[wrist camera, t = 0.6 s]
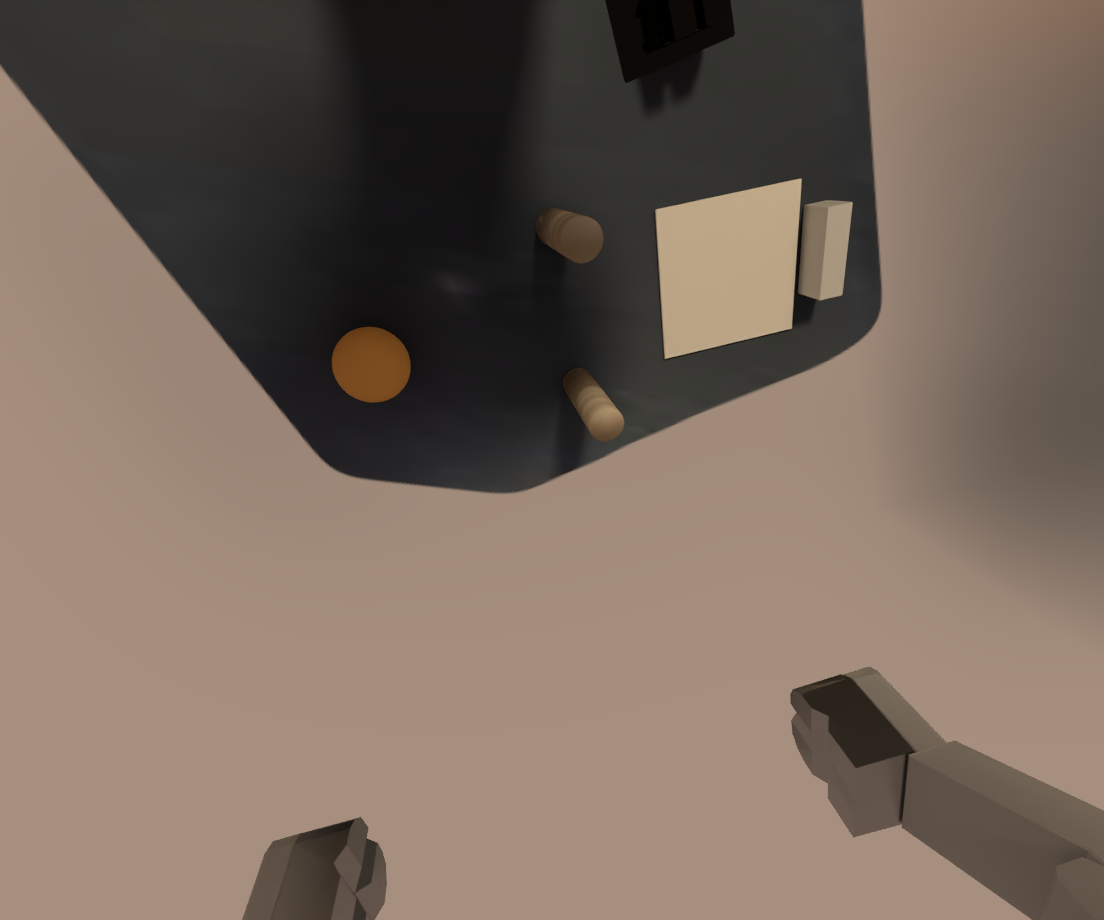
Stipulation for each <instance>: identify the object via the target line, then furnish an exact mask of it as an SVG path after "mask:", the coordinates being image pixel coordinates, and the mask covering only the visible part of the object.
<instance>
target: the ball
mask: <svg viewBox="0 0 1104 920" xmlns="http://www.w3.org/2000/svg"><path fill="white" fill-rule="evenodd" d="M332 369H333V373H334V376H335V378H336V380H337V382H338V384H339V385H340V386H341V388H342V389H343V390H344V391H345V392H346V393H348V394H349V395H350V396H352V397H354V398H356V399H358V400H361V401H365V402H382V401H386V400H389V399H391V398H393V397H394V396H396V395H397V394H398V393H400V392H401V390H402V389H403V388H404V387H405V385H406V384H407V381H408V379H409V376H410V371H411V364H410V358H409V354H408V352H407V350H406V348H405V346H404V345H403V343H402V342H401V341H400V340H399V339H398V338H397V337H396V336H395V335H393V334H392V333H390V332H388V331H386V330H384V329H381V328H377V327H361V328H358V329H354V330H352V331H350V332H348V333H347V334H346V335H344V336H343V337H342V338H341V339H340V340H339V342H338V343H337V345H336V347H335V349H334V352H333V356H332Z"/></svg>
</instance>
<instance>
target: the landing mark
mask: <svg viewBox="0 0 1104 920" xmlns="http://www.w3.org/2000/svg"><path fill="white" fill-rule="evenodd" d="M801 180H802V179H796V180H792V181H787V182H782V183H778V184H773V185H768V186H764V187H759V188H754V189H750V190H745V191H740V192H736V193H731V194H726V195H722V196H717V197H712V198H708V199H703V200H698V201H694V202H689V203H684V204H680V205H675V206H670V207H666V208H661V209H656V210H655V222H656V238H657V253H658V269H659V285H660V300H661V316H662V332H663V348H664V359H667V358H671V357H675V356H679V355H684V354H688V353H692V352H696V351H700V350H704V349H709V348H713V347H717V346H721V345H725V344H729V343H734V342H738V341H742V340H746V339H750V338H754V337H759V336H763V335H767V334H771V333H775V332H779V331H784V330H788V329H792V316H793V301H794V286H795V271H796V256H797V241H798V226H799V211H800V195H801Z"/></svg>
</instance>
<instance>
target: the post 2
mask: <svg viewBox="0 0 1104 920" xmlns="http://www.w3.org/2000/svg"><path fill="white" fill-rule="evenodd" d="M563 388H564V390H565V392H566V393H567V395H568V397H569V398H570V400H571V402H572V403H573V405H574V407H575V408H576V410H577V412H578V413H579V415H580V417H581V418H582V420H583V422H584V423H585V425H586V426H587V428H588V430H589V431H590V433H591V435H592V436H593V437H594V438H595V439H596V440H599V441H610V440H613V439H614V438H616V437H617V436H618V435H619V434H620V433H621V432H622V430H623V427H624V419H623V416H622V415H621V413H620V412H619V411H618V409H617V408H616V407H615V405H614V404H613V403H612V402H611V400H610V399H609V398H608V396H607V395H606V394H605V393H604V391H603V390H602V389H601V387H600V386H599V385H598V384H597V382H596V381H595V380H594V378H593V377H592V376H591V375H590V373H589V372H588V371H587V370H585V369H582V368H575V369H572V370H570V371H569V372H568V373H567V374H566V375H565V377H564V379H563Z"/></svg>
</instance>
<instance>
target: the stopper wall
mask: <svg viewBox="0 0 1104 920" xmlns="http://www.w3.org/2000/svg"><path fill="white" fill-rule="evenodd" d="M852 204H853V202H845V201H830V200H826V201H822V202H817V203H812V204H808V205H804V213H803V227H802V241H801V255H800V270H799V284H798V293H799V294H802V295H805V296H808V297H811V298H814V299H817V300H823V299H828V298H832V297H836V296H840V295H842V292H843V283H844V275H845V266H846V257H847V248H848V239H849V230H850V221H851V213H852Z"/></svg>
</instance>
